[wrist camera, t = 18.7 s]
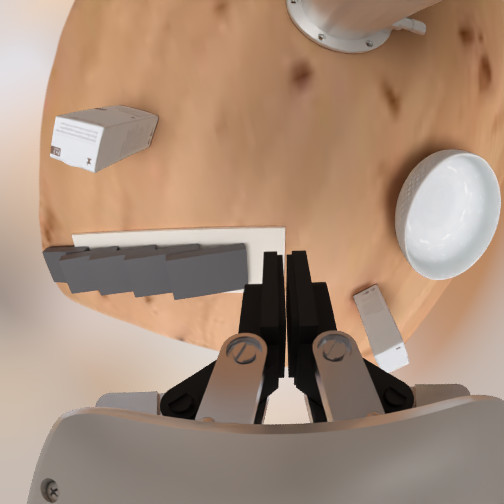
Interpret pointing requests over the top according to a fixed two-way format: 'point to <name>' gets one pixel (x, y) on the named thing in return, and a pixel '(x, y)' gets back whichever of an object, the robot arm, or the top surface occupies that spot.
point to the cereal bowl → (447, 213)
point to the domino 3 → (113, 270)
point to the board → (208, 237)
